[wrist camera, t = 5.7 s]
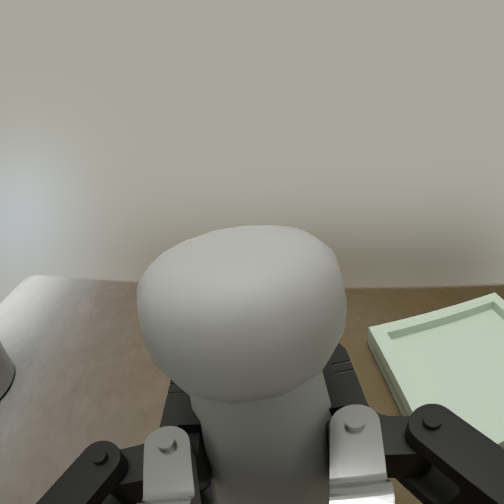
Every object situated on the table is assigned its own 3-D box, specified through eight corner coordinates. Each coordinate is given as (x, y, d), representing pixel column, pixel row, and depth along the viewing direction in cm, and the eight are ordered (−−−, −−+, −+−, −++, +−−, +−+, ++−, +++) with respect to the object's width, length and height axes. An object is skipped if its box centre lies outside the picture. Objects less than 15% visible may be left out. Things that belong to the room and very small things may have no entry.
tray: (431, 485, 10) (440, 472, 9) (367, 343, 21) (368, 327, 20) (574, 397, 9) (584, 381, 9) (491, 307, 20) (494, 292, 20)
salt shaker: (265, 444, 15) (212, 202, 10) (365, 475, 12) (402, 205, 7) (200, 523, 10) (43, 287, 5) (310, 573, 7) (305, 400, 2)
